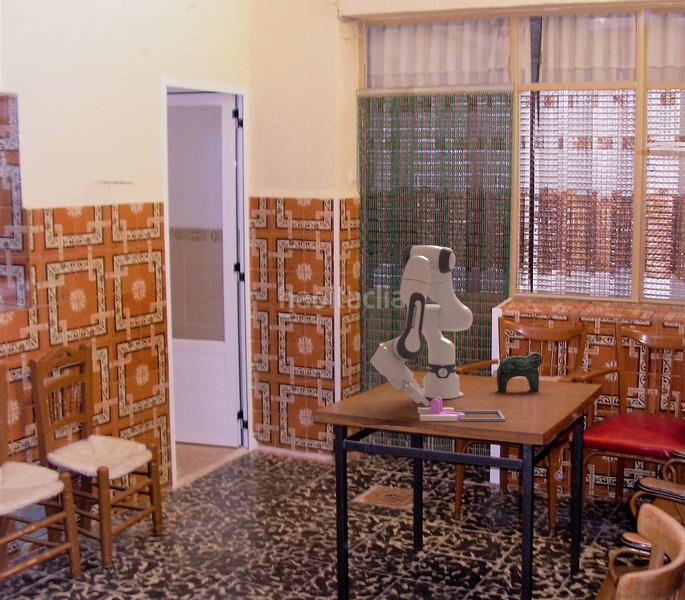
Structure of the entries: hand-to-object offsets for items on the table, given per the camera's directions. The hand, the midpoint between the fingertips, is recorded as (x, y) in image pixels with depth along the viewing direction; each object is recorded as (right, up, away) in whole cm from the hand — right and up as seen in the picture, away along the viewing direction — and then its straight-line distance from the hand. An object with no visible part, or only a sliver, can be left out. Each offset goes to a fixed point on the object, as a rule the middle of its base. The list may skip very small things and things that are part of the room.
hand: (428, 404), depth 376 cm
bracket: (+8, -5, +1) cm, 9 cm away
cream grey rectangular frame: (+12, -5, 0) cm, 13 cm away
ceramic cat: (+44, 0, +51) cm, 68 cm away
